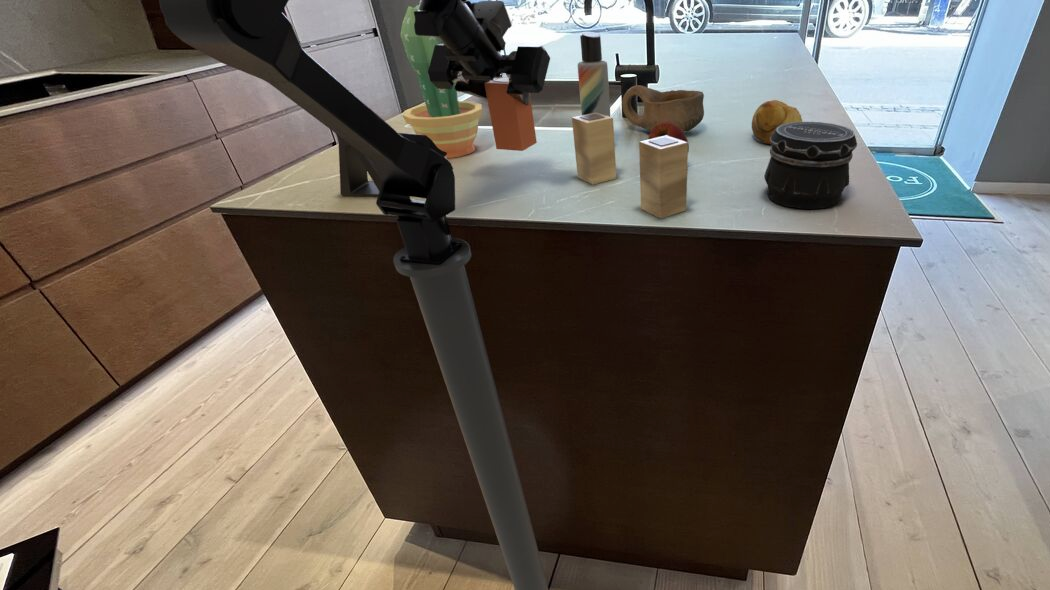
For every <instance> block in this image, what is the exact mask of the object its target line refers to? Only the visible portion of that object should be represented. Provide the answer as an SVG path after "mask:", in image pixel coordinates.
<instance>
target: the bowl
mask: <svg viewBox="0 0 1050 590" xmlns="http://www.w3.org/2000/svg"><path fill="white" fill-rule="evenodd" d="M635 96H637V97H639V98H640V99H641V102H642V104H643V114H638V113H637V112H636V111H635V110H634V108H633V106H632V99H633V97H635ZM704 97H705V95H704V92H703V91H701V90H686V89H678V90H674V89H672V90H667V91H660V90H657V89H653V88H651V87H648V86H644V85H641V84H640V85H639V84H638V85H636V84H635V85H633V86H631V87H629V89H627V90H626V92H625V93H624V94H623V97H622V101H621V108H622V112H623V115H624V116H625V118H626V119H627V120H628V121H629V122H630V123H631V124H632V125H634V126H637V127H640V128H642V129H644V130H648V131H650V132H651V131H652V129H653V128H654V127H655V126H656V125H657V124H659V123H661V122H670V123H673V124H675V125H677V126H678V127H679V128H681V129H682V131H683V132H684V133H686V132H688V131H689V132H690V131H692V130H693V129H694V128H695V127H697V126H698V125H699V124H700V123H701V122H702V120H703V119H704V118H705V117H704V116H705V109H704Z"/></svg>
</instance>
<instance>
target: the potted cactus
mask: <svg viewBox="0 0 1050 590" xmlns="http://www.w3.org/2000/svg"><path fill="white" fill-rule="evenodd" d="M418 7H419V4H417V5H415V7H412V6H409V5H408V6H407V10H406V12H405V15H404V18H403V20H402V24H401V28H400V35H399V36H400V39H401V42H402V46H403V48H404V51H405V54H406V57H407V60H408V62H409V64H410V66H411V68H412V70H414V73H415V74H416V77H417V79H418V83H419V84H418V85H419V87H420V90H421V93H422V97H423V101H424V103H425V104H420V105H415V106H413V107H410V108H408V109H405V110H404V111H403V113H402V115H401V116H402V118H403V119H404V122H405V124H408V125H410V126H411V128H412V130H413V131H414V134H420V135H426V136H427V137H429V138H430V139H431V140H432V141H433V142H434V144H435V145H436V146H437V147H438V148H439V149H440V150H442V151H444V152H447V155H446V156H445V158H447V159H450V158H459V157H463V156H467V155H470V154H471V153H473V152H475V151H476V148H475V147H476V146H475V144H474V142H475V140H476V137H477V135H478V130H479V121H480V119H481V118H482V117H483V116H482V115H483V112H482V111H483V107H482V106H483V105H482V103H478V102H475V101H469V100H468V101H467V100H459V98H458V91H456V90H455V83H454V82H453V87H452V89H437V88H436V87H435V85H434V84H433V83H432V82H431V81H430V80H429V76H428V69H429V65H430V62H431V58H432V54H433V51H434V47H435V45H438V44H443V43H442V42H441V41H440V40H439V39H438V37H436V36H417V35H416V34H415V29H414V23H415V16H414V11H418Z"/></svg>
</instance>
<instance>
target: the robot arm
mask: <svg viewBox="0 0 1050 590" xmlns="http://www.w3.org/2000/svg"><path fill="white" fill-rule="evenodd" d="M289 1H290V0H158V2H159V8H160V10H161V13H162V15H163V17H164V24H165V26H167V28H168V29H169V30H170V32H172V33H173V34H174V35H175V36H176V37H177V38H178V39H179V40H180V41H182V42H183V43H184V44H186V45H188V46H190V47H192V48H193V49H195V50H197V51H199V52H201V53H203V54H204V55H206V56H208V57H210V58H212V59H214V60H216V61H218V62H219V63H221V64H223V65H225V66H228V67H231V68H234V69H236V70H238V71H241V72H243V73H246V74H247V75H250V76H252V77H254V78H258V79H260V80H262V81H265V82H266V83H268V84H269V85H270V86H272V87H273V88H274V89H276V90H277V91H279V92H280V93H281V94H283V95H284V96H285V97H286V98H287V99H290V101H292V102H293V103H295V104H296V105H297V106H298V107H300V109H302V110H304V111H305V112H306V113H308V114H309V115H311V117H313V118H314V119H316V120H317V121H318V122H320V123H321V124H322V125H324V126H325V127H326V128H328V129H329V130H330V131H332V132H333V133H335V135H336V134H337V135H339V136H340V137H341V138H343V139H344V140H345V141H347V142H348V143H349V144H351V145H352V146H353V147H355V148H356V149H357V150H359V151H360V152H361V153H363V154H364V155H365V156H367V157H368V158H369V159H370V160H371V161H372V162H373V163H374V166H375V169H376V172H377V174H378V176H379V177H380V178H381V179H382V180H383V181H382V185H381V188H380V191H379V194H378V196H377V198H376V201H375V204H376V206H377V208H379V210H380V211H381V213H382V214H383V215H384V216H395V217H397V219H396V223H397V226H398V231H399V232H400V236H401V239H402V242H403V245H404V247H405V248H406V251H407V252H406V253H405V254H403V255H402V256H401V257H400V258H399V259H400V261H401V262H410V263H420V264H430V265H441V264H442V263H444V262H445V261H446V260H447V259H448V258H449V257H450V256H452V255H453V254H454V253H455V252H456V251H457V250H458V249H460V248H461V247H462V243H461V242H453V241H452V238H453V237H452V234H451V229H450V226H449V222H448V221H449V220H448V218H447V216H448V215H449V214H451V213H452V212H454V211H456V177H455V172H454V171H453V170H454V167H453V165H452V163H451V162H450V161H449V158H445V156H446V155H447V152H444V151H442V150H440V149H439V148H438V147H437V146H436V145H435V144H434V142H433V141H432V140H431V139H430V138H429V137H427V136H426V135H420V134H416V133H408V132H407V133H406V132H398V131H397V130H396V129H394V128H393V127H392V126H391V125H390V124H389V123H388V122H387V121H385V120H384V119H383V118H382V117H381V116H379V114H377V113H376V112H375V111H374V110H373V109H372V108H371V107H369V106H368V105H367V104H366V103H364V101H362V100H361V99H360V98H359V97H358V96H357V95H356V94H354V93H353V92H352V91H351V90H350V89H349V88H347V86H346V85H344V84H343V83H342V82H341V81H340V80H338V79H337V78H336V77H335V76H334V75H333V74H332V73H330V72H329V71H328V70H327V69H326V68H325V67H323V66H322V65H321V64H320V63H319V62H318V61H316V59H314V57H312V55H309V53H308V52H306V51H305V49H304V48H303V46H302V45H301V43H300V40H299V38H298V36H297V34H296V32H295V29H294V27H293V25H292V23H291V21H290V19H289V18H288V17H287V16H286V15H285V13H283V11H284V10H285V9H286V6H287V5H288V3H289ZM418 5H419V7H418V11H414V16H415V23H414V29H415V34H416V35H417V36H436V37H438V39H439V40H440V41H441V42H442V43H443V44H438V45H435V47H434V51H433V54H432V58H431V62H430V65H429V69H428V76H429V80H430V81H431V82H432V83H433V84H434V85H435V87H436V88H437V89H452V87H453V82H454V83H455V90H456V91H457V93H463V94H466V95H470V96H473V97H476V98H479V99H483V100H486V101H487V95H486V90H485V85H484V83H486V82H488V81H493V80H494V79H497V78H502V77H503V75H504V74H505V76H506V77H508V78H509V84H508V88H507V92H506V93H507V94H509V95H510V96H512V97H513V98H515V99H516V100H518V101H520V102H521V103H523V104H525V105H527V106H529V103H530V98H531V95H530V96H529V93H530V94H539V93H541V92H542V91H543V89H544V86H545V81H546V79H547V78H546V77H547V73H548V69H549V65H550V62H551V56H550V55H549V53H548V52H547V50H546V48H545V47H544V46H543V45H538V44H537V45H535V44H534V45H531V44H530V45H529V44H527V45H526V44H522V45H518V46H517V48H516V50H512V51H510V53H509V54H502V53H501V52H502V51H504V50H505V48H506V44H507V43H506V41H505V40H504V36H505V35H506V33H507V31H508V30H509V29H510V28H511V27H512V26H513V25H512V21H511V19H510V18H511V17H510V16H509V13H508V10H507V6H506V5H505V2H504V1H503V0H480V1H478V2H471V0H420V1H419V4H418ZM337 135H336V136H337ZM411 197H412V198H417V199H412V198H411ZM418 198H419V200H418ZM420 199H424V200H420Z"/></svg>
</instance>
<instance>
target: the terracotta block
mask: <svg viewBox="0 0 1050 590" xmlns="http://www.w3.org/2000/svg"><path fill="white" fill-rule="evenodd" d="M508 84H509V78H508V77H507V76H502V78H494V79H493V81H491V80H490V81H488V82H486V83H484V85H485V90H486V95H487V100H486V101H487V105H488V110H489V116H490V121H491V127H492V131H493V137H494V142H495V148H496V150H504V151H516V152H517V151H518V152H524V151H525V150H527V149H529V148H530V147H532V146H534V145H535V144H537V143H538V141H537V136H536V130H535V129H536V128H535V127H536V126H535V120H534V115H533V107H532V106H533V105H532V99H531V93H529V96H530V103H529V106H527V105H525V104H523V103H521V102H520V101H518V100H516V99H515V98H513V97H512V96H510V95H509V94H507V93H506V92H507V88H508Z"/></svg>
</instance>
